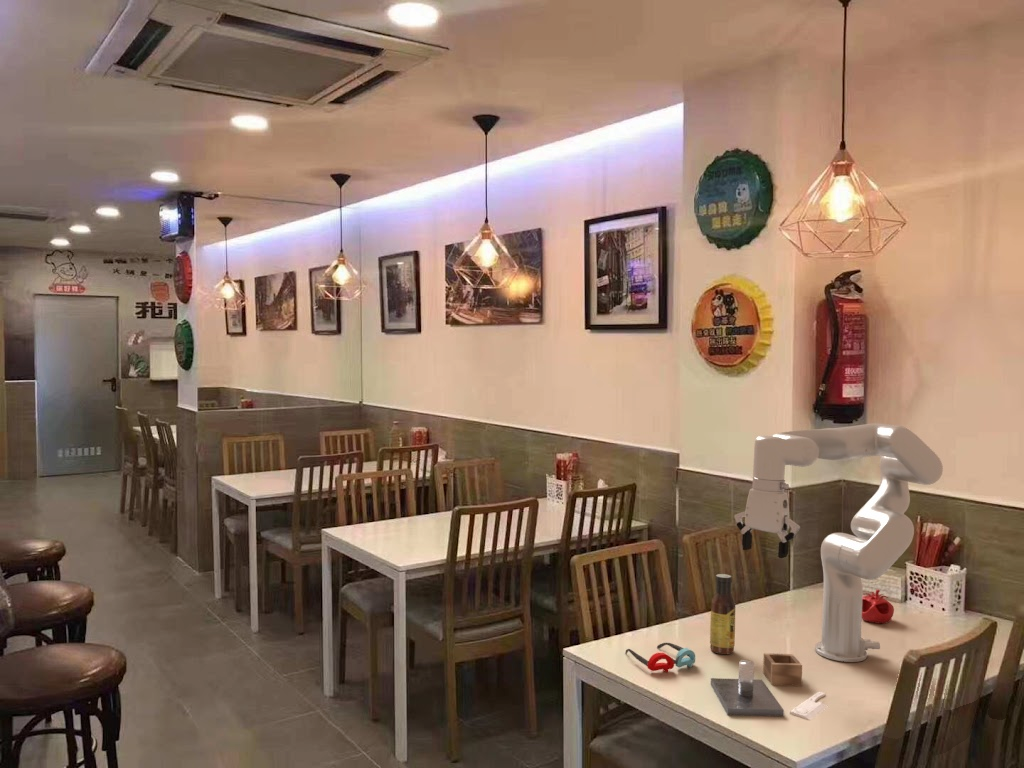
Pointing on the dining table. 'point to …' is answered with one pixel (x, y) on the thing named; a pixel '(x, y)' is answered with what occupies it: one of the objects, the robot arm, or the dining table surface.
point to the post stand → (746, 694)
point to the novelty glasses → (667, 658)
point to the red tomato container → (876, 608)
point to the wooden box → (782, 669)
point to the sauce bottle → (722, 617)
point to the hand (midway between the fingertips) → (764, 553)
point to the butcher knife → (810, 707)
